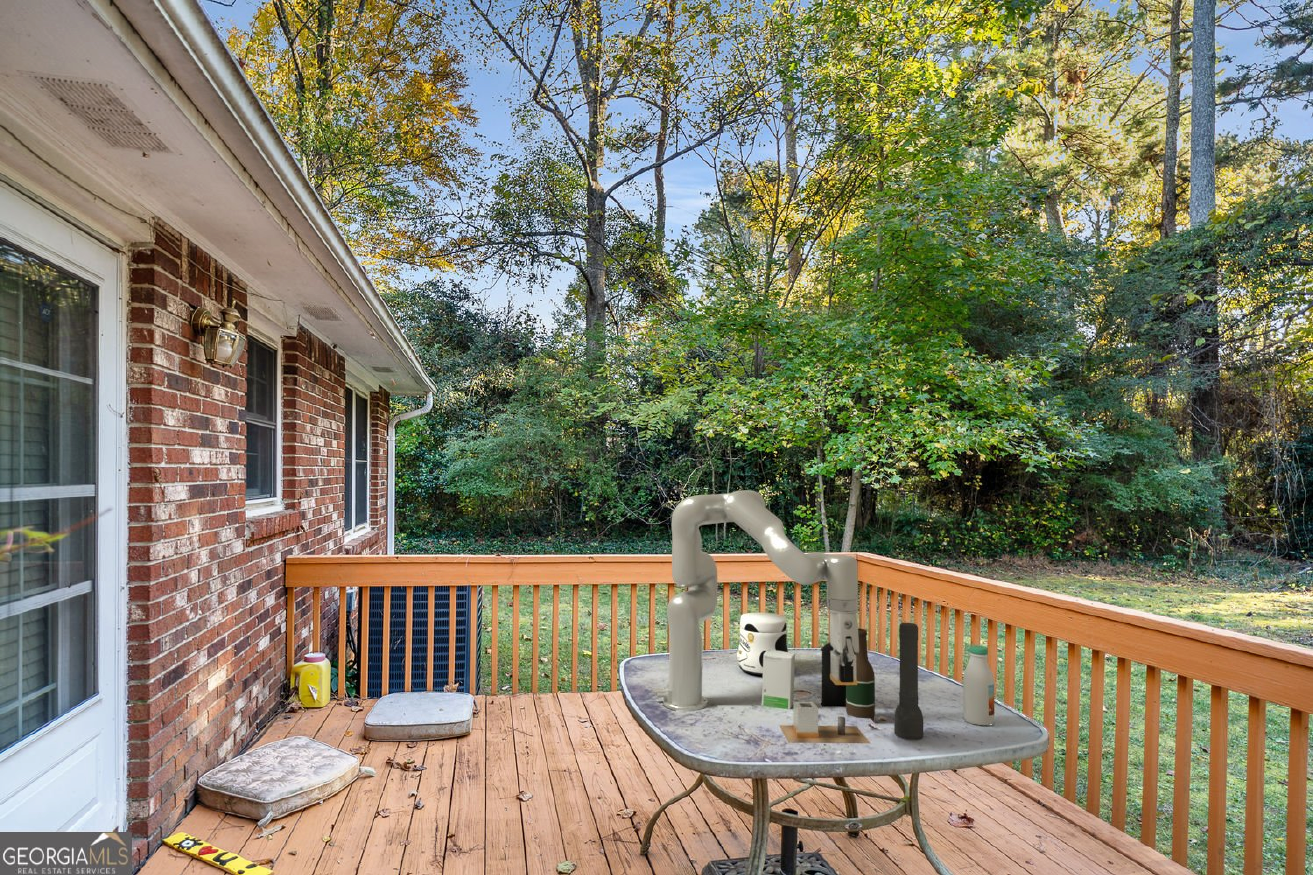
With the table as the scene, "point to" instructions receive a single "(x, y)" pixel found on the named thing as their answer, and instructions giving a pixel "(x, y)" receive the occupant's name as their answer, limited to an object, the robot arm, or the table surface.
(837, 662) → the sleeve
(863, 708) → the beer bottle
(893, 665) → the table surface
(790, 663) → the skincare box
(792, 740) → the pin board
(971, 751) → the table surface
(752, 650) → the milk container
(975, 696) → the milk bottle
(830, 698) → the aerosol can
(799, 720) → the sleeve seated
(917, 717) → the flashlight
